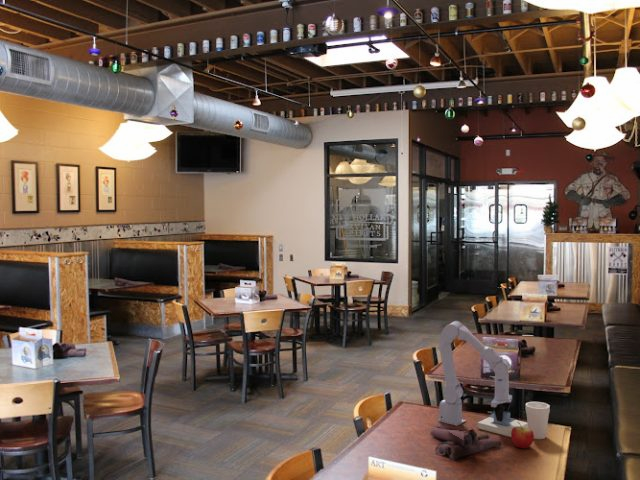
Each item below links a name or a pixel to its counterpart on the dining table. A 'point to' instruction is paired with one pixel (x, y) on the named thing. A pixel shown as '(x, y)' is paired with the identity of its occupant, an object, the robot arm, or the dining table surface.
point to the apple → (522, 436)
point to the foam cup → (537, 418)
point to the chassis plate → (500, 426)
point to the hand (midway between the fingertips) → (501, 420)
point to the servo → (505, 420)
